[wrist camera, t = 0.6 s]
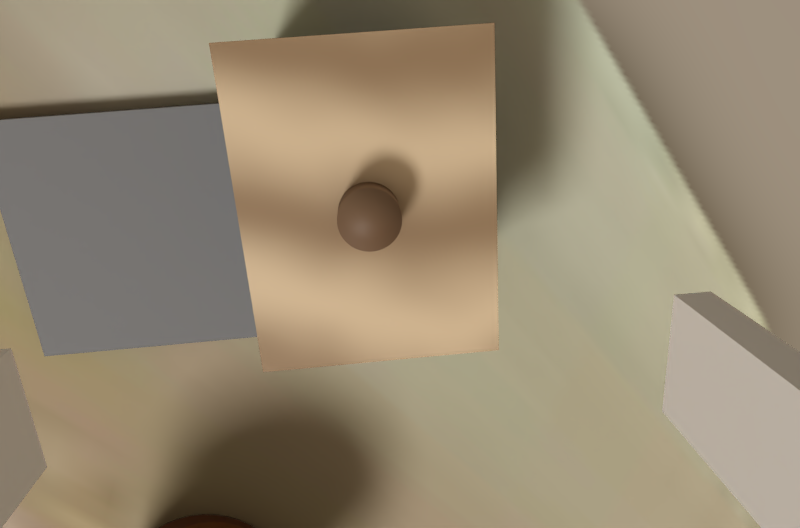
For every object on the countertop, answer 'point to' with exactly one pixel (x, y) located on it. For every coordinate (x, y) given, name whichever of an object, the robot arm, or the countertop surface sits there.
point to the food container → (207, 522)
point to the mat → (125, 228)
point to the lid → (365, 191)
